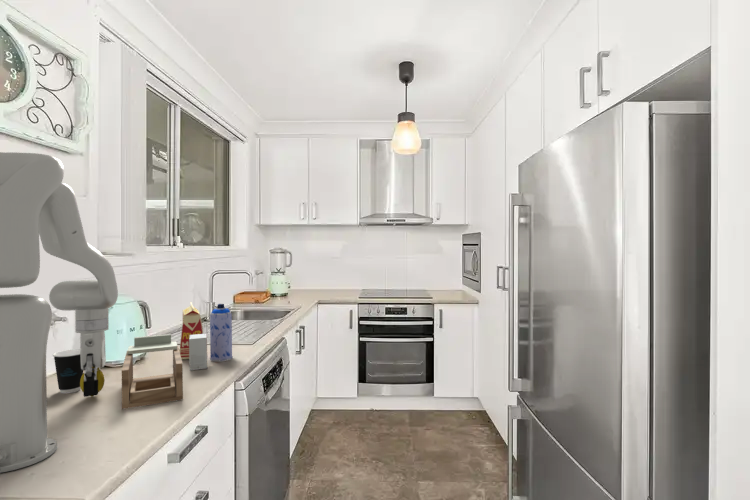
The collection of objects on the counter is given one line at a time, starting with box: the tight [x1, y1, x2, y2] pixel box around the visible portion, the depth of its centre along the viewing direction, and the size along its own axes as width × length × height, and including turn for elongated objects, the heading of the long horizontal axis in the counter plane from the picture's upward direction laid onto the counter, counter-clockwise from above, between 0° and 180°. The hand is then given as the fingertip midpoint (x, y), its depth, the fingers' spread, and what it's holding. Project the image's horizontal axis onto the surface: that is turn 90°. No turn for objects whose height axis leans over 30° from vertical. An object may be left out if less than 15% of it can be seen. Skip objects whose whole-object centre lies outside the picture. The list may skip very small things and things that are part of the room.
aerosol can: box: [209, 303, 234, 362], centre depth 156 cm, size 8×8×20 cm
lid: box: [127, 333, 178, 355], centre depth 129 cm, size 7×13×4 cm, turn 117°
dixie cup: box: [52, 348, 84, 394], centre depth 122 cm, size 8×8×11 cm
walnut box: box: [121, 344, 184, 410], centre depth 122 cm, size 24×14×10 cm, turn 27°
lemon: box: [80, 367, 106, 398], centre depth 116 cm, size 6×6×8 cm
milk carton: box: [179, 301, 204, 360], centre depth 160 cm, size 9×9×20 cm
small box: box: [188, 333, 208, 371], centre depth 146 cm, size 8×6×10 cm
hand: (92, 391), depth 116 cm, fingers closed on lemon, 5 cm apart
